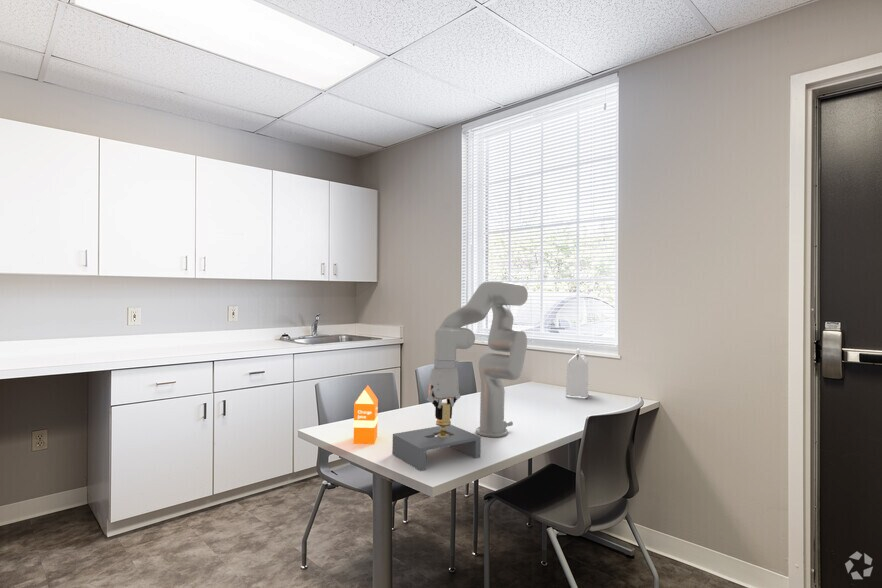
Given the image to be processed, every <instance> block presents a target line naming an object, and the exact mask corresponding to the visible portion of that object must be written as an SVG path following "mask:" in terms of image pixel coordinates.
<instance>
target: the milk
mask: <svg viewBox="0 0 882 588" xmlns="http://www.w3.org/2000/svg"><path fill="white" fill-rule="evenodd" d="M580 352H581V351H580V348H576V353H575V355H573V356H572V357H571V358H570V359H568V362H567V369H566V385H565V396H566V395H570V396H581V397H588V398H589V361H588V359H587V357H586V356H585V355H584V354H581V353H580Z"/></svg>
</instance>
